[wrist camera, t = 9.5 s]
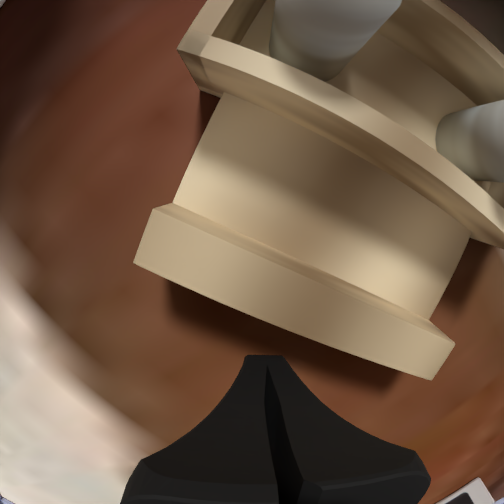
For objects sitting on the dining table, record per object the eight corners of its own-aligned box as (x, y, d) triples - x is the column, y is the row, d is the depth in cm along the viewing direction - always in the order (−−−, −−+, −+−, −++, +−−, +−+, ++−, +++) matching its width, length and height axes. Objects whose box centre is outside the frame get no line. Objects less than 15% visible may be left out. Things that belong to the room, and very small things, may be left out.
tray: (506, 131, 9) (590, 124, 4) (414, 347, 12) (477, 421, 7) (266, -20, 8) (274, -112, 3) (138, 229, 10) (56, 270, 5)
